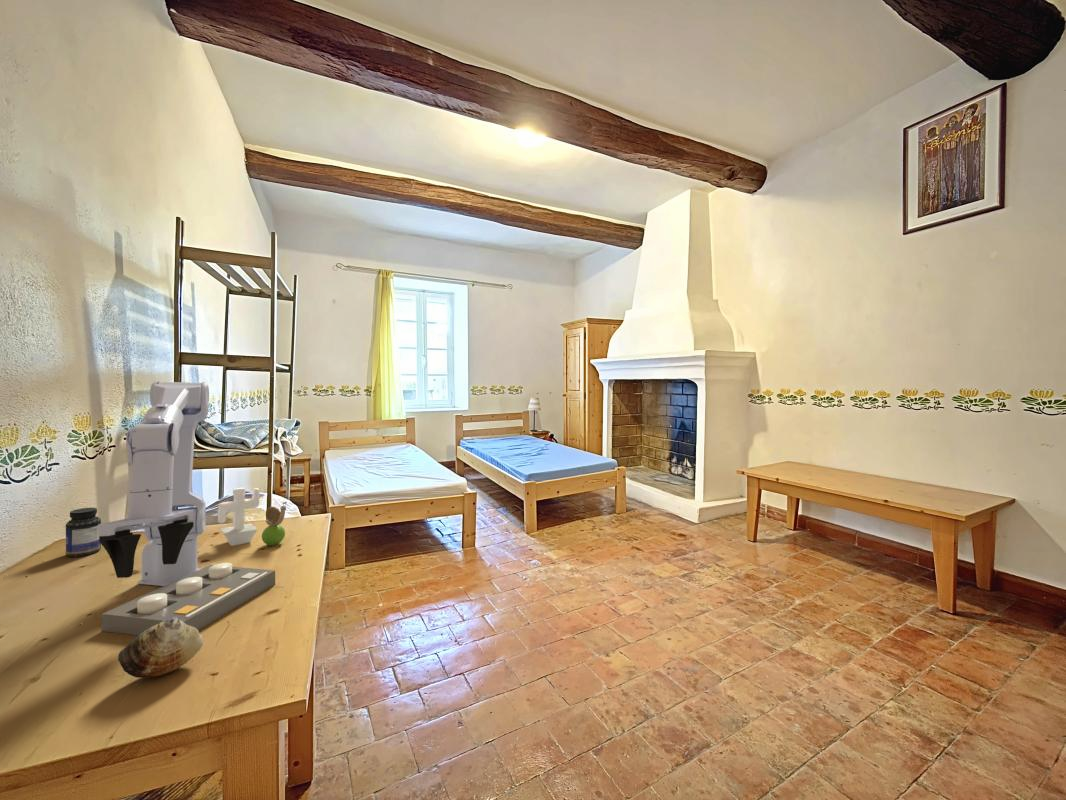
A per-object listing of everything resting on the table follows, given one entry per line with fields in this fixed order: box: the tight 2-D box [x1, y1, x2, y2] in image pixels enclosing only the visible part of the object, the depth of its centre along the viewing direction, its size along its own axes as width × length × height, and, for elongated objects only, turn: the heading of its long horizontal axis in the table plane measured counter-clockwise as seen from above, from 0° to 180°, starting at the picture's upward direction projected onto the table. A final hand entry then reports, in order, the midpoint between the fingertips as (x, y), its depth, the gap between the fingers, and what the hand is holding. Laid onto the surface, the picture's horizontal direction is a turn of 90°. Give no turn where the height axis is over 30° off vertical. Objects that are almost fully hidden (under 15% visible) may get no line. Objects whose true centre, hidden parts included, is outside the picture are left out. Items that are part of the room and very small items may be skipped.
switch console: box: [101, 564, 276, 636], centre depth 82 cm, size 16×21×3 cm
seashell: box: [117, 617, 204, 679], centre depth 62 cm, size 10×6×8 cm, turn 130°
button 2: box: [209, 562, 233, 580], centre depth 89 cm, size 4×4×3 cm
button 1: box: [137, 593, 167, 615], centre depth 75 cm, size 4×4×3 cm
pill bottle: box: [65, 507, 102, 558], centre depth 106 cm, size 6×6×11 cm
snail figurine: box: [261, 501, 287, 546], centre depth 114 cm, size 5×6×12 cm
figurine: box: [217, 487, 261, 547], centre depth 115 cm, size 7×9×15 cm
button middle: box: [176, 577, 202, 596], centre depth 82 cm, size 4×4×3 cm
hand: (148, 570), depth 73 cm, fingers open, 7 cm apart
